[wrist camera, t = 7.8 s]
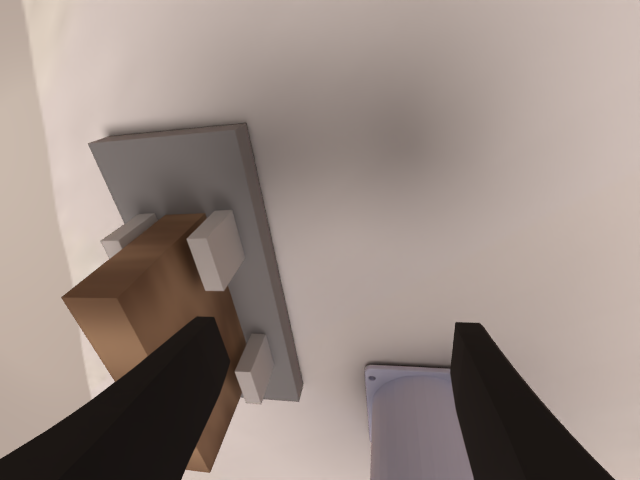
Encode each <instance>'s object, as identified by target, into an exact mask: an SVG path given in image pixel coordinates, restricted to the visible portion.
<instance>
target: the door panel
mask: <svg viewBox="0 0 640 480" xmlns="http://www.w3.org/2000/svg"><path fill="white" fill-rule="evenodd" d="M206 219H207V217H206V214H205V213H198V214H173V215H164V216H163V217H162V218H161V219H159V220H158V221H157V222H156V223H154V224H153V225H152V226H151V227H149V228H148V229H147V230H146V231H144V232H143V233H142V234H141V235H139V236H138V237H137V238H135V239H134V240H133V241H132V242H130V243H129V244H128V245H127V246H125V247H124V248H123V249H122V250H120V251H119V252H118V253H117V254H115V255H114V256H113V257H112V258H110V259H109V260H108V261H106V262H105V263H104V264H103V265H101V266H100V267H99V268H98V269H96V270H95V271H94V272H93V273H91V274H90V275H89V276H88V277H86V278H85V279H84V280H83V281H81V282H80V283H79V284H78V285H76V286H75V287H74V288H72V289H71V290H70V291H69V292H67V293H66V294H65V295H64V296H62V299H63V301H64V302H65V304H66V306H67V307H68V309H69V310H70V312H71V314H72V315H73V317H74V318H75V320H76V321H77V323H78V325H79V326H80V328H81V329H82V331H83V332H84V334H85V335H86V337H87V339H88V340H89V342H90V343H91V345H92V346H93V348H94V350H95V351H96V353H97V354H98V356H99V357H100V359H101V360H102V362H103V364H104V365H105V367H106V368H107V370H108V371H109V373H110V375H111V376H112V378H113V379H114V381H115V382H116V381H117V380H118V379H120V378H121V377H122V376H124V375H125V374H126V373H127V372H129V371H130V370H131V369H133V368H134V367H135V366H136V365H138V364H139V363H140V362H141V361H142V360H144V359H145V358H146V357H147V356H149V355H150V354H151V353H152V352H153V351H155V350H156V349H157V348H158V347H160V346H161V345H162V344H163V343H164V342H166V341H167V340H168V339H169V338H170V337H172V336H173V335H174V334H175V333H176V332H178V331H179V330H180V329H181V328H183V327H184V326H185V325H186V324H187V323H189V322H190V321H191V320H193V319H194V318H195V317H197V316H202V317H214V318H215V320H216V323H217V326H218V329H219V331H220V334H221V337H222V340H223V342H224V345H225V348H226V350H227V353H228V356H229V359H230V365H229V368H228V371H227V375H226V378H225V381H224V384H223V387H222V390H221V393H220V395H219V397H218V400H217V402H216V404H215V406H214V408H213V411H212V413H211V415H210V417H209V419H208V422H207V424H206V426H205V428H204V430H203V432H202V435H201V437H200V439H199V441H198V443H197V445H196V447H195V450H194V452H193V454H192V456H191V458H190V460H189V463H188V465H187V467H186V469H185V470H192V471H200V472H208V473H210V472H211V469H212V467H213V464H214V462H215V459H216V457H217V454H218V452H219V449H220V447H221V444H222V442H223V439H224V437H225V434H226V432H227V429H228V427H229V424H230V422H231V419H232V417H233V414H234V412H235V409H236V407H237V404H238V402H239V399H240V397H241V394H242V391H241V388H240V385H239V382H238V380H237V377H236V374H235V369H236V367H237V365H238V363H239V360H240V358H241V356H242V354H243V351H244V349H245V347H246V345H247V344H246V341H245V338H244V335H243V331H242V328H241V325H240V322H239V319H238V316H237V312H236V309H235V306H234V303H233V300H232V297H231V293H230V290H229V287H228V285H227V287H226V288H225V290H224V291H205V289H204V286H203V283H202V280H201V278H200V275H199V272H198V269H197V267H196V264H195V261H194V258H193V256H192V253H191V250H190V247H189V244H188V242H187V238H188V237H189V236H190V235H191V234H192V233H193V232H194V231H195V230H196V229H197V228H198V227H199V226H200V225H201V224H202V223H203V222H204V221H205V220H206Z"/></svg>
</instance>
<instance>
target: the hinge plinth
mask: <svg viewBox="0 0 640 480" xmlns="http://www.w3.org/2000/svg"><path fill="white" fill-rule="evenodd" d="M88 145H89V147H90V149H91V151H92V154H93V156H94V158H95V160H96V162H97V165H98V167H99V169H100V171H101V173H102V176H103V178H104V180H105V182H106V184H107V186H108V189H109V191H110V193H111V195H112V197H113V200H114V202H115V204H116V206H117V208H118V211H119V213H120V215H121V217H122V219H123V222H124V225H122V226H121V227H120V228H118V229H117V230H115V231H114V232H112V233H111V234H110V235H108V236H107V237H105V238H104V239H103V240H101V243H102V245H103V247H104V249H105V251H106V253H107V255H108V257H109V259H110V258H112V257H113V256H114V255H115V254H117V253H118V252H119V251H120V250H122V249H123V248H124V247H125V246H127V245H128V244H129V243H130V242H132V241H133V240H134V239H135V238H137V237H138V236H139V235H141V234H142V233H143V232H144V231H146V230H147V229H148V228H149V227H151V226H152V225H153V224H154V223H156V222H157V221H158V220H159V219H161V218H162V217H163V216H164V215H173V214H198V213H205V214H206V217H207V219H206V220H205V221H204V222H203V223H202V224H201V225H200V226H199V227H198V228H197V229H196V230H195V231H194V232H193V233H192V234H191V235H190V236H189V237H188V238H187V242H188V244H189V247H190V250H191V253H192V256H193V258H194V261H195V264H196V267H197V269H198V272H199V275H200V278H201V280H202V283H203V286H204V289H205V291H224V290H225V288H226V287H227V285H228V287H229V290H230V293H231V297H232V300H233V303H234V306H235V309H236V312H237V316H238V319H239V322H240V325H241V328H242V331H243V335H244V338H245V341H246V344H247V345H246V347H245V349H244V351H243V354H242V356H241V358H240V360H239V363H238V365H237V367H236V369H235V374H236V377H237V380H238V382H239V385H240V388H241V391H242V394H241V397H242V398H244V399H245V402H246V403H249V404H261V403H262V400H263V399H269V400H282V401H296V402H299V400H300V396H301V391H302V387H303V382H302V377H301V372H300V368H299V363H298V359H297V354H296V350H295V345H294V340H293V336H292V331H291V327H290V322H289V317H288V313H287V308H286V304H285V299H284V294H283V290H282V285H281V281H280V276H279V271H278V267H277V262H276V258H275V253H274V249H273V244H272V239H271V235H270V230H269V226H268V221H267V216H266V212H265V207H264V203H263V198H262V193H261V189H260V184H259V180H258V175H257V170H256V166H255V161H254V157H253V152H252V148H251V143H250V138H249V134H248V129H247V125H246V123H243V124H232V125H222V126H212V127H201V128H191V129H181V130H170V131H160V132H150V133H139V134H129V135H119V136H108V137H106V138H103V139H100V140H97V141H94V142H91V143H88Z"/></svg>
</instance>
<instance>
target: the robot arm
mask: <svg viewBox="0 0 640 480" xmlns="http://www.w3.org/2000/svg"><path fill="white" fill-rule="evenodd" d="M229 365H230V359H229V356H228V353H227V350H226V348H225V345H224V342H223V340H222V337H221V334H220V331H219V329H218V326H217V323H216V320H215V318H214V317H202V316H197V317H195V318H194V319H193V320H191V321H190V322H189V323H187V324H186V325H185V326H184V327H183V328H181V329H180V330H179V331H178V332H176V333H175V334H174V335H173V336H172V337H170V338H169V339H168V340H167V341H166V342H164V343H163V344H162V345H161V346H160V347H158V348H157V349H156V350H155V351H153V352H152V353H151V354H150V355H149V356H147V357H146V358H145V359H144V360H142V361H141V362H140V363H139V364H138V365H136V366H135V367H134V368H133V369H131V370H130V371H129V372H127V373H126V374H125V375H124V376H122V377H121V378H120V379H118V380H117V381H116V382H114V383H113V384H112V385H111V386H109V387H108V388H107V389H105V390H104V391H103V392H101V393H100V394H99V395H98V396H96V397H95V398H93V399H92V400H91V401H89V402H88V403H87V404H85V405H84V406H82V407H81V408H79V409H78V410H77V411H75V412H74V413H72V414H71V415H69V416H68V417H66V418H65V419H63V420H62V421H60V422H59V423H57V424H56V425H54V426H53V427H52V428H50V429H48V430H47V431H45V432H44V433H42V434H40V435H39V436H37V437H35V438H34V439H32V440H31V441H29V442H27V443H26V444H24V445H22V446H21V447H19V448H18V449H16V450H14V451H13V452H11V453H10V454H8V455H6V456H5V457H3V458H1V459H0V480H181V479H182V476H183V474H184V472H185V469H186V467H187V465H188V463H189V460H190V458H191V456H192V454H193V452H194V450H195V447H196V445H197V443H198V441H199V439H200V437H201V435H202V432H203V430H204V428H205V426H206V424H207V422H208V419H209V417H210V415H211V413H212V411H213V408H214V406H215V404H216V402H217V400H218V397H219V395H220V393H221V390H222V387H223V384H224V381H225V378H226V375H227V371H228V368H229ZM365 384H366V397H367V410H368V423H369V436H370V442H371V472H370V480H615V479H614V478H613V477H612V476H611V475H610V474H609V473H608V472H607V471H606V470H605V469H604V468H603V467H602V466H601V465H600V464H599V463H598V462H597V461H596V460H595V459H594V458H593V457H592V456H591V455H590V454H589V453H588V452H587V451H586V450H585V449H584V448H583V447H582V445H581V444H580V443H579V442H578V441H577V440H576V439H575V438H574V437H573V436H572V435H571V434H570V433H569V431H568V430H567V429H566V428H565V427H564V426H563V425H562V424H561V423H560V422H559V420H558V419H557V418H556V417H555V416H554V415H553V414H552V413H551V412H550V410H549V409H548V408H547V407H546V406H545V405H544V403H543V402H542V401H541V400H540V399H539V398H538V396H537V395H536V394H535V393H534V392H533V390H532V389H531V388H530V387H529V386H528V384H527V383H526V382H525V381H524V380H523V378H522V377H521V376H520V375H519V373H518V372H517V371H516V370H515V368H514V367H513V366H512V365H511V363H510V362H509V361H508V359H507V358H506V357H505V355H504V354H503V353H502V352H501V350H500V349H499V348H498V346H497V345H496V343H495V342H494V341H493V339H492V338H491V337H490V335H489V334H488V332H487V331H486V330H485V328H484V327H483V326H482V325H481V324H480V323H463V322H456V323H455V332H454V341H453V350H452V359H451V368H450V369H447V368H427V367H407V366H387V365H368V366H366V367H365Z"/></svg>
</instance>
